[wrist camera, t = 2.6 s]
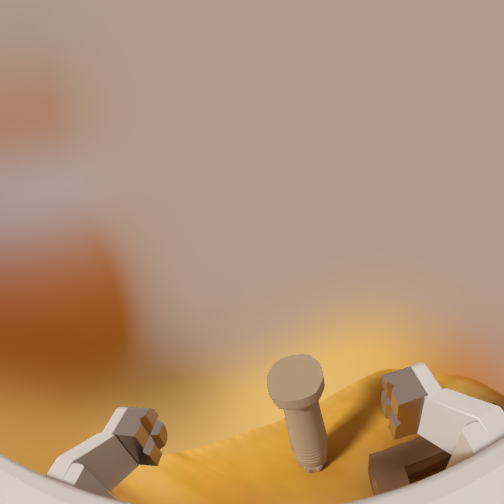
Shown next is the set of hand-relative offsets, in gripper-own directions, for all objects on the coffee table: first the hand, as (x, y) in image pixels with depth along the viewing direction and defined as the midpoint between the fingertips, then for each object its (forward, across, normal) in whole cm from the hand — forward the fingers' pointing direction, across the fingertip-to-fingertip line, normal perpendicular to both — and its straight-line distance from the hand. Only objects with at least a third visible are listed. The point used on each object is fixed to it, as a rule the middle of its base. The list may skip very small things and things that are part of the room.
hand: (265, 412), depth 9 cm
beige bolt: (+13, 0, -24) cm, 28 cm away
